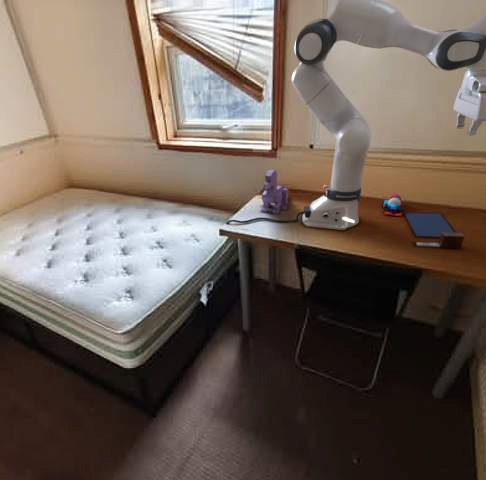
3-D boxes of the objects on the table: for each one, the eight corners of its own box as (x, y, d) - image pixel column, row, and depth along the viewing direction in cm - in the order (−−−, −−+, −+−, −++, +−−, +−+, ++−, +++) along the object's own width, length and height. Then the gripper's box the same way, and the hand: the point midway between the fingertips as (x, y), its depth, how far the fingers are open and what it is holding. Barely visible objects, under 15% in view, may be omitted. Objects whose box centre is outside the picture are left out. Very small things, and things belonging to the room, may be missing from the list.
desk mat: (416, 237, 120) (417, 236, 120) (404, 214, 136) (404, 213, 136) (457, 238, 117) (457, 237, 117) (440, 214, 133) (440, 213, 132)
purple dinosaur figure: (254, 215, 149) (253, 173, 138) (274, 195, 166) (275, 157, 155) (278, 218, 143) (279, 176, 133) (297, 197, 160) (299, 158, 150)
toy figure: (402, 220, 135) (403, 200, 144) (404, 209, 132) (405, 190, 141) (381, 219, 138) (384, 200, 148) (382, 209, 135) (385, 190, 144)
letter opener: (457, 244, 114) (461, 232, 111) (460, 248, 112) (464, 236, 109) (415, 243, 117) (418, 231, 114) (417, 246, 115) (420, 235, 112)
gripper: (455, 78, 104) (442, 125, 112) (482, 85, 88) (465, 139, 96) (478, 76, 103) (464, 124, 111) (510, 83, 87) (490, 138, 94)
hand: (464, 131), depth 103 cm, fingers open, 8 cm apart
